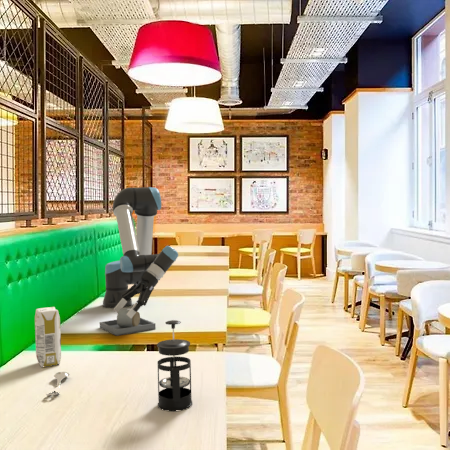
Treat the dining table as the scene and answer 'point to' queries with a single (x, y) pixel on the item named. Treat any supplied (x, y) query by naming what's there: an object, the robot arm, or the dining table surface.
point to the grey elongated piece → (59, 379)
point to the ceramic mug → (127, 319)
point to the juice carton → (47, 336)
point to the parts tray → (117, 330)
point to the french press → (174, 374)
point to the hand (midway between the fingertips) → (121, 314)
